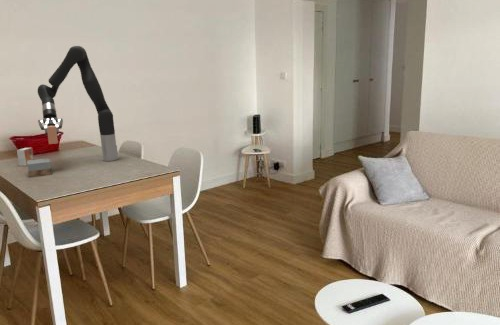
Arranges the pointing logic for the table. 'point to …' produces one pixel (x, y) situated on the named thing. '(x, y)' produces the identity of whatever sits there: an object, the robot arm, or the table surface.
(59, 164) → the table surface
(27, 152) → the small box
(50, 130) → the terracotta block
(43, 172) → the walnut slab
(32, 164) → the slate-grey slab
